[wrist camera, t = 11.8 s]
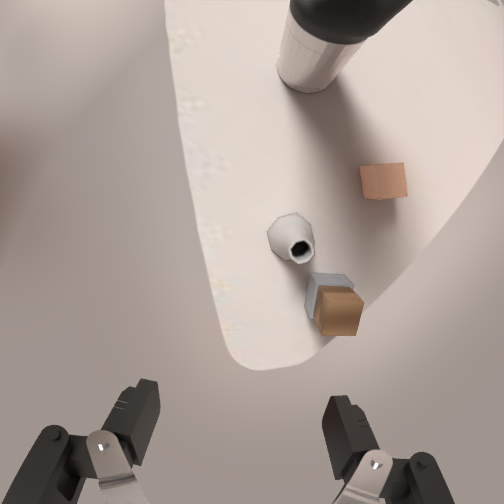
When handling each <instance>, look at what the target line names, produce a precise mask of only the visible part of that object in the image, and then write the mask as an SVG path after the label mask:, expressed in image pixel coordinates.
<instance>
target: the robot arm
mask: <svg viewBox="0 0 504 504" xmlns="http://www.w3.org/2000/svg"><path fill="white" fill-rule="evenodd" d="M411 1H412V0H290V6H289V10H288V15H287V20H286V25H285V29H284V34H283V38H282V43H281V48H280V52H279V57H278V62H277V70H278V73H279V76H280V77H281V79H282V80H283V81H284V82H285V83H286V84H287V85H288V86H289V87H291V88H292V89H295V90H297V91H300V92H304V93H315V92H319V91H322V90H323V89H325V88H326V87H327V86H329V85H330V83H331V82H332V81H333V80H334V78H335V77H336V76H337V75H338V73H339V72H340V71H341V70H342V69H343V67H344V66H345V65H346V64H347V62H348V61H349V60H350V59H351V57H352V56H353V55H354V54H355V53H356V51H357V50H358V49H359V48H360V46H361V45H362V44H363V43H364V42H365V40H366V39H367V38H368V37H370V36H372V35H374V34H376V33H377V32H378V31H379V30H380V29H381V28H382V27H383V26H384V25H385V24H386V23H387V22H389V21H390V20H391V19H392V18H393V17H394V16H395V15H396V14H398V13H399V12H400V11H401V10H402V9H403V8H405V7H406V6H407V5H408V4H409V3H410V2H411ZM159 414H160V398H159V391H158V384H157V382H156V381H151V380H146V379H140V381H139V383H138V385H137V386H136V388H134V387H128V388H127V389H126V390H124V391H123V392H122V393H121V394H120V396H119V398H118V401H117V402H116V403H115V405H114V407H113V409H112V410H111V412H110V414H109V416H108V418H107V419H106V421H105V423H104V425H103V427H102V428H101V430H97V431H94V432H92V433H91V434H90V435H89V436H77V435H69V434H68V432H67V431H66V430H65V429H64V428H63V427H61V426H58V425H50V426H47V427H45V428H44V429H43V430H42V432H41V433H40V435H39V436H38V438H37V440H36V441H35V443H34V445H33V446H32V448H31V450H30V451H29V453H28V455H27V457H26V459H25V460H24V462H23V464H22V466H21V467H20V469H19V471H18V473H17V475H16V477H15V479H14V481H13V482H12V484H11V486H10V488H9V490H8V492H7V494H6V496H5V498H4V500H3V502H2V504H77V501H78V499H79V496H80V493H81V491H82V488H83V485H84V483H85V480H86V478H94V479H99V487H100V489H101V492H102V494H103V496H104V499H105V501H106V503H107V504H150V502H149V501H148V499H147V497H146V496H145V494H144V492H143V490H142V488H141V486H140V485H139V483H138V481H137V479H136V477H135V475H134V474H133V472H132V470H131V469H132V467H133V464H135V465H139V466H141V464H142V461H143V458H144V456H145V453H146V450H147V447H148V444H149V442H150V438H151V436H152V433H153V431H154V428H155V425H156V422H157V420H158V417H159ZM322 429H323V433H324V437H325V441H326V444H327V449H328V452H329V457H330V461H331V465H332V468H333V473H334V477H335V480H339V479H344V483H345V484H344V485H343V487H342V488H341V490H340V492H339V493H338V495H337V496H336V497H335V499H334V500H333V502H332V503H331V504H378V503H379V499H378V498H385V501H386V504H455V503H454V501H453V498H452V496H451V494H450V491H449V489H448V487H447V485H446V482H445V480H444V478H443V476H442V473H441V471H440V469H439V467H438V465H437V462H436V460H435V459H434V457H433V456H432V455H430V454H428V453H425V452H418V453H416V454H414V455H413V456H412V457H411V458H410V459H394V458H391V456H390V455H389V454H388V453H387V452H385V451H383V450H380V449H379V446H378V444H377V441H376V439H375V437H374V434H373V432H372V430H371V427H370V425H369V423H368V421H367V418H366V416H365V414H364V411H363V410H362V409H361V408H359V407H358V406H357V405H351V403H350V400H349V398H348V396H347V395H343V396H331V397H330V399H329V402H328V405H327V407H326V410H325V413H324V415H323V419H322Z"/></svg>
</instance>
